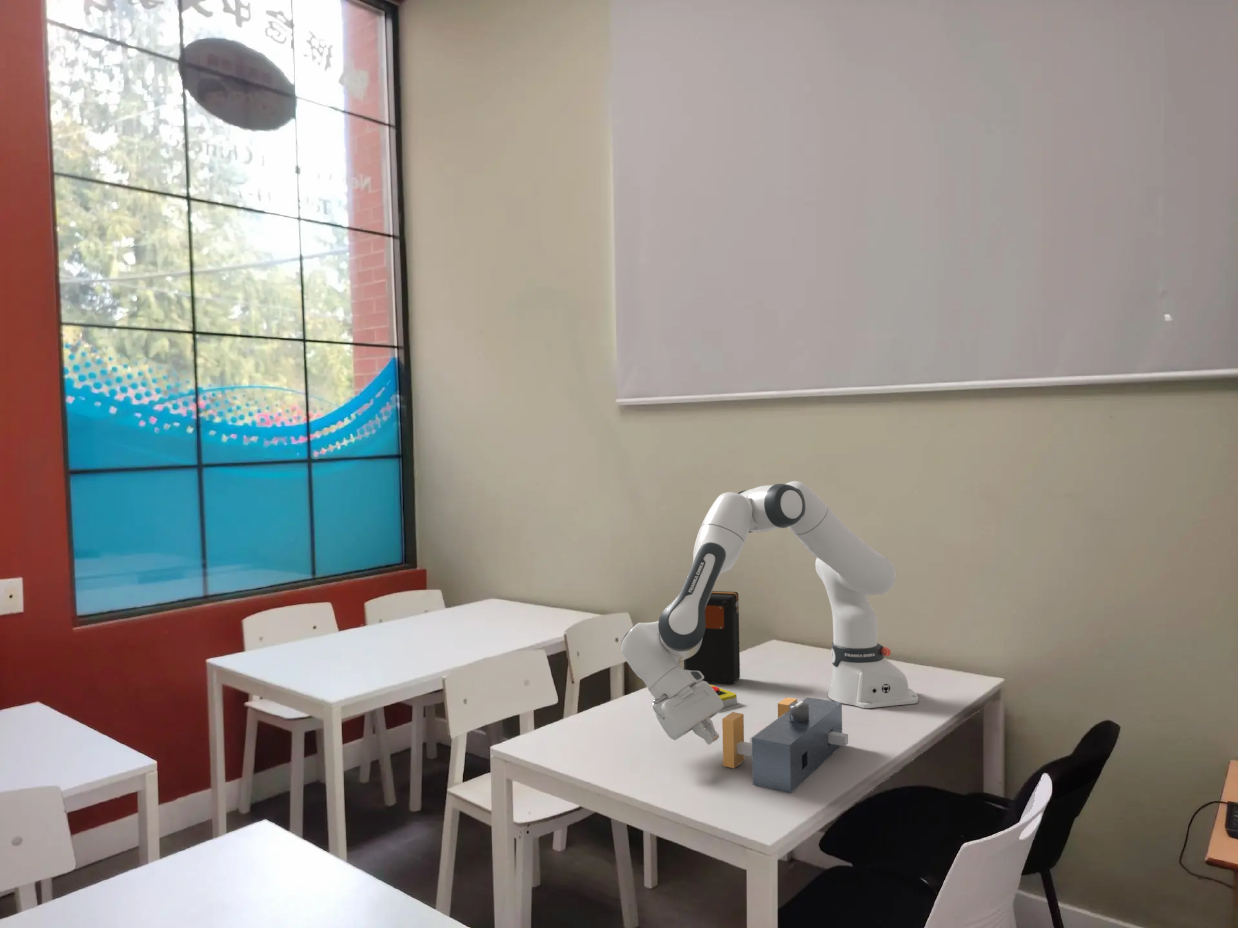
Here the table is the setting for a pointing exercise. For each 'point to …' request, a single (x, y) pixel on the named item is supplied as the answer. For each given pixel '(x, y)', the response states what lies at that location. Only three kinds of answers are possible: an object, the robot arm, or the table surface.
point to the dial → (799, 712)
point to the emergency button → (726, 698)
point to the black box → (719, 640)
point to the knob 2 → (832, 736)
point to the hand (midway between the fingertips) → (714, 740)
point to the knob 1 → (734, 740)
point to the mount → (795, 746)
